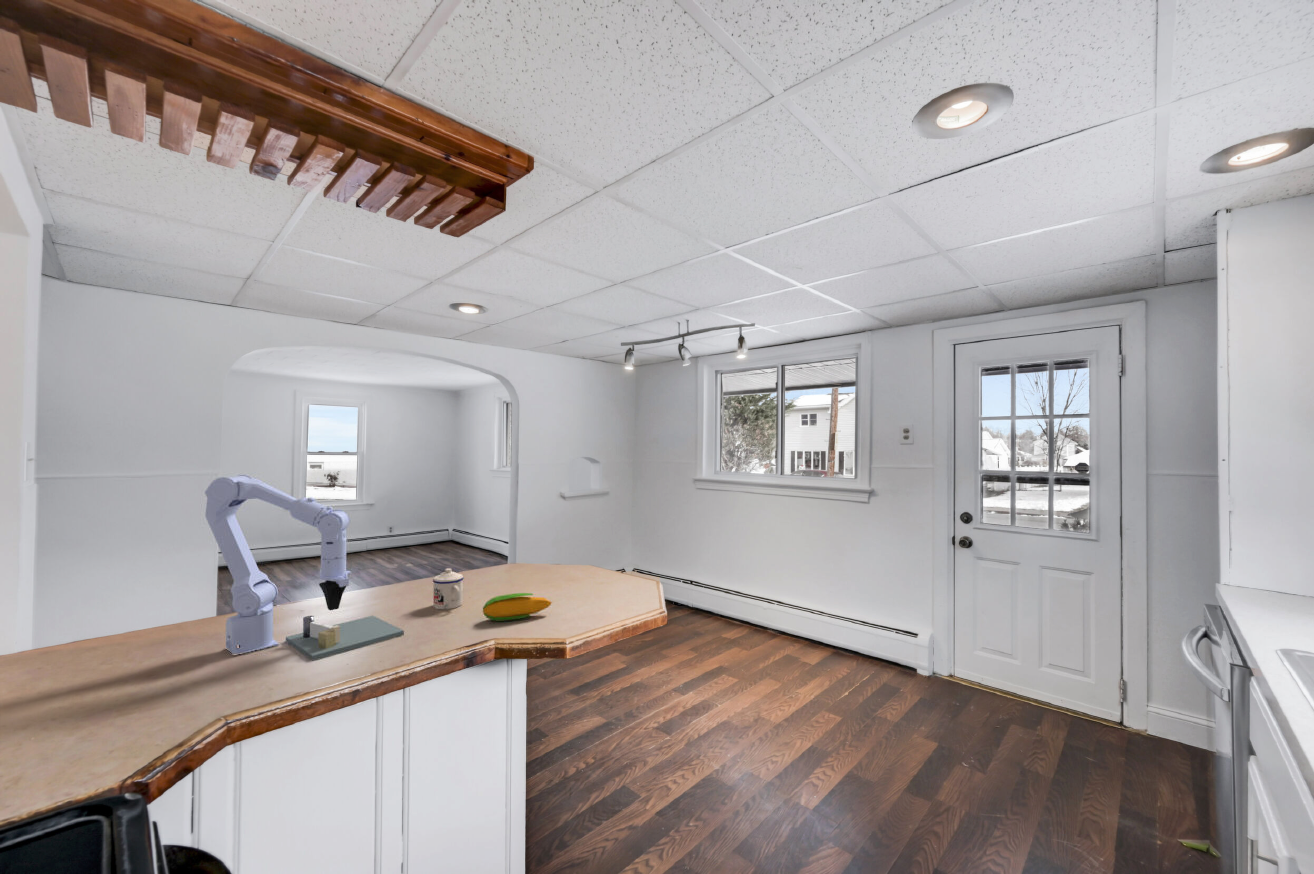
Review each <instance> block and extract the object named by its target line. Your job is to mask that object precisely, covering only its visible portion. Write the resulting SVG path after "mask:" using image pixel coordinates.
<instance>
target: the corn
mask: <svg viewBox="0 0 1314 874" xmlns="http://www.w3.org/2000/svg"><path fill="white" fill-rule="evenodd" d="M533 595H534V593H529V592H527V593H526V592H518V593H509V594H502V595H497V596H495V597H492V598H490V599H489V600H487V601H486V602H485V603H484V605H483V607H482V613H483V615H484V616H485V617H486V618H487V619H489V620H491V621H493V622H494V621H496V622H505V621H515V620H522V619H526V618H527V619H528V618H531V615H533V614H537V613H539V612H541V611H543V610H545V609H548V608H549V607H550V606H551V605H552V601H551V600H549V599H547V598H545V597H541V596H540V597H538V596H533Z"/></svg>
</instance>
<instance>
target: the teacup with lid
mask: <svg viewBox="0 0 1314 874" xmlns="http://www.w3.org/2000/svg"><path fill="white" fill-rule="evenodd" d="M463 580H464V576H463V574H461V573H457V572H455V571H452V568H445V569H444V572H441V573H440V574H439V575H436V576H434V577H433V579H432V582H433V608H434V609H436V610H453V609H456V608H459V607H461V606H462V605H463V603H464V601H463V593H464V592H463V590H464V589H463V583H464V582H463Z"/></svg>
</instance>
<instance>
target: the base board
mask: <svg viewBox="0 0 1314 874" xmlns="http://www.w3.org/2000/svg"><path fill="white" fill-rule="evenodd" d="M336 625H338V626H340V642H338V643H335V646H333V647H330V648H327V649H324V648H321V647H318V639H317V638H314V637H309V638H303V632H300V633H296V634H291V635H288V636H286V637H285V642H286V643H287V642H288V643H287V644H289V645H290V646H291V645H292V647H293V648H295V650H297V651H299V652H300V653H301V654H303V655H304V656H306V658H308V659H310V660H311V661H312V662H313V661H317V660H320V659H324V658H327V657H331V656H334V655H337V654H341V653H344V652H348V651H353V650H356V649H359V648H362V647H367V646H370V645H373V644H377V643H381V642H384V641H387V640H390V639H395V638H397V637H402V636H404V635H405V631H404V629H402V628H400V627H398V626H395V625H393V624H392V623H389V622H387V621H385V620H383V619H381V618H378V617H377V616H375V615H370V616H365V617H361V618H357V619H354V620H350V621H345V622H340V623H337V624H333V625H331V626H336Z"/></svg>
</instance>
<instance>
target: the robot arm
mask: <svg viewBox="0 0 1314 874" xmlns="http://www.w3.org/2000/svg"><path fill="white" fill-rule="evenodd" d="M204 494H205V496H206V498H207V499H206V505H205V506H206V507H205V519H206V521H207V524H208V525H209V527H210V529H211V531H212V534H213V537H214V539H215V541H216V543H217V545H218V547H219V550H220V553H221V554H222V557H223V559H224V561H225V563H226V566H227V568H228V570H229V572H230V575H231V577H232V579H233V583H232V585H231V588H230V592H231V595H232V596H231V597H232V603H231V604H232V608H233V610H234V611H235V612H236V613H237V614H235V615H233V616H229V617H227V619H226V622H225V647H226V648H227V649H228V650H229V651H230V652H231V653H232V654H240V653H245V654H247V653H246V652H249V653H252V652H251V651H253V652H256V651H255V650H257V651H260V649H261V650H264V649H267V647H269V648H272V646H273V647H275V646H276V647H277V646H278V645H280V643H279V642H278V641H277V640H275V639H274V605H273V602H274V601H276V599H277V597H278V595H279V590H278V587H277V586H276V584H275V583H274V582H273V581H271V580H270V579H269V577H268V575H267V574H266V573H265V572H262V571H261V570H260V569H259V566H258V565H257V562H256V560H255V558H254V556H253V553H252V551H251V549H250V547H249V545H248V542H247V539H246V537H245V536H244V533H243V531H242V529H241V526H240V524H239V522H238V520H237V517H236V513H237V512H238V510H239V509H240V507H241V506H242V504H243V503H245V502H246V501H247V500H253V499H258V500H260V501H263V502H266V503H269V504H271V505H274V506H277V507H279V508H281V509H285V510H287V511H289V513H290V516H291V518H293V519H295V520H298V521H300V522H302V523H303V524H304V523H305V524H307V525H309V526H312V527H314V528H316V529H317V531H318V532H319V533H320V534H321V535H320V537H321V540H320V569H319V570H318V571H319V572H318V578H319V580H323V582H320V583H318V585H319V587H320V589H321V590H322V593H323V597H324V599H325V604H326V608H327V610H328V611H333V610H334V611H335V610H338V609H339V608H340V605H341V602H342V598H343V597H342V596H343V594H344V592H345V590H346V588H347V587H348V586H350V583H349V582H350V581H349V580H350V578H349V577H348V576H349V575H351V574H352V571H350V570H347V528H348V527H349V525H350V522H351V520H350V516H349V515H348V513H347V512H346V511H344V510H343V509H334V508H333V507H332V506H326V505H324V504H321V503H319V502H317V501H316V498H313V497H312V496H311V497H308V498H307V497H301V498H296V497H294V496H292V495H290V494H288V493H287V492H284V491H282V490H280V489H278V488H275V486H272V485H270V484H268V483H265V482H264V481H262V480H260V479H258V478H253V477H251V476H250V475H247V474H239V475H235V476H227V477H225V476H221V477H217V478H215V480H214V479H213V481H212V482H211V483H210V484H209V485H208V487H207V488H206V490H205V491H204ZM333 509H334V510H333ZM237 645H239V648H237ZM230 652H229V653H230ZM231 653H230V654H231ZM232 654H231V655H232Z"/></svg>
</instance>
